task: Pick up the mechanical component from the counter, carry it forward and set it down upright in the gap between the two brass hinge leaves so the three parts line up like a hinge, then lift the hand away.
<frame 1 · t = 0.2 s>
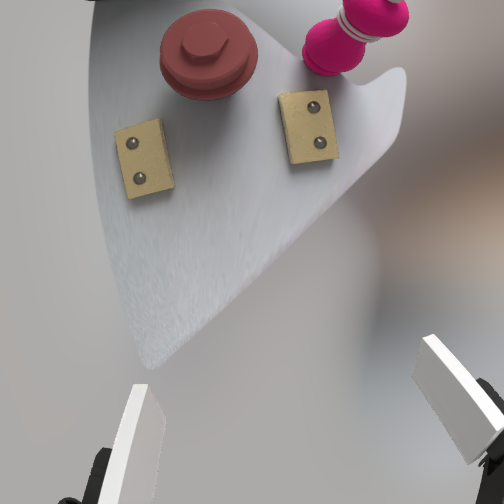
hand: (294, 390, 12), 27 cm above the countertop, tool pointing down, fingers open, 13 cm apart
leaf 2: (306, 127, 33), on the countertop
pepper mill: (323, 56, 30), on the countertop
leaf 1: (146, 158, 33), on the countertop
mechanical component: (213, 75, 30), on the countertop
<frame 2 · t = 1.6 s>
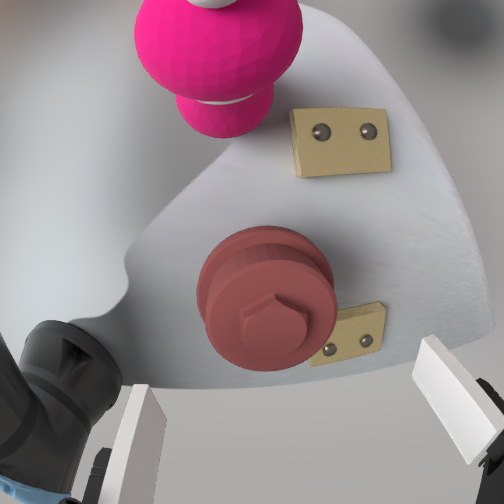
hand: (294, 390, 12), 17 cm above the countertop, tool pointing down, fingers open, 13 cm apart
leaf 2: (338, 141, 24), on the countertop
pepper mill: (225, 103, 23), on the countertop
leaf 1: (343, 330, 31), on the countertop
mechanical component: (257, 258, 28), on the countertop
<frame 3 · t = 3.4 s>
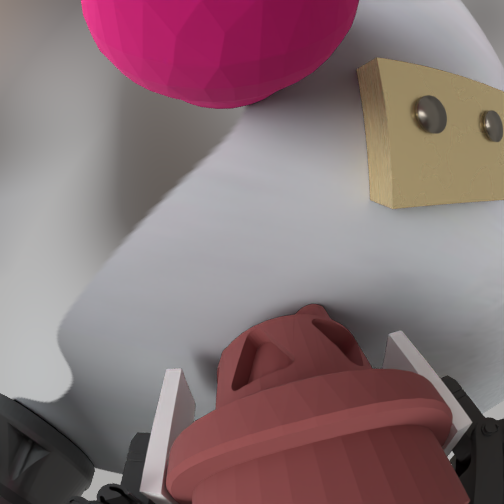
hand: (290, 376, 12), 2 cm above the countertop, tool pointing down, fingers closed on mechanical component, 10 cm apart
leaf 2: (439, 136, 11), on the countertop
pepper mill: (224, 44, 9), on the countertop
mechanical component: (284, 351, 14), on the countertop, touching gripper
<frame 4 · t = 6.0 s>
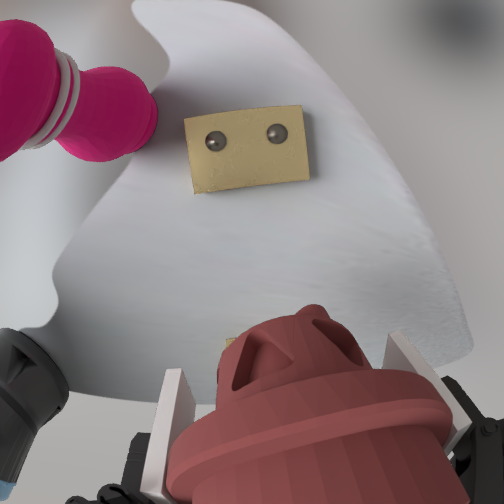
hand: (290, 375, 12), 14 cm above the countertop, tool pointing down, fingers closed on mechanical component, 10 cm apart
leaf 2: (246, 148, 22), on the countertop
pepper mill: (125, 120, 21), on the countertop
mechanical component: (284, 351, 14), point 12 cm above the countertop, touching gripper
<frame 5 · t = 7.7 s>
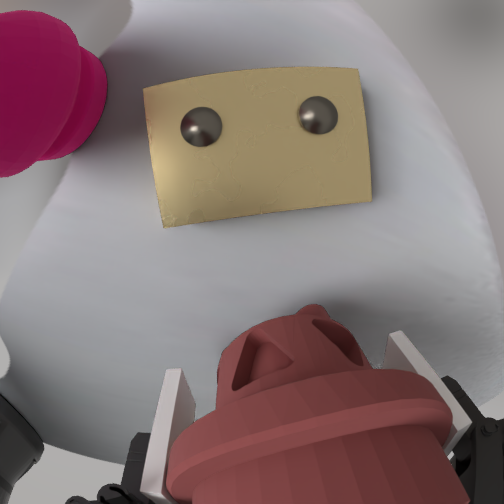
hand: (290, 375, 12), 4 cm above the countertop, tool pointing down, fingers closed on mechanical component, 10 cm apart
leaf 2: (258, 141, 12), on the countertop
pepper mill: (61, 103, 11), on the countertop
mechanical component: (284, 351, 14), point 2 cm above the countertop, touching gripper
when the fingers open (3 cm above the countertop, at t = 8.7 s): mechanical component drops 1 cm, on the countertop.
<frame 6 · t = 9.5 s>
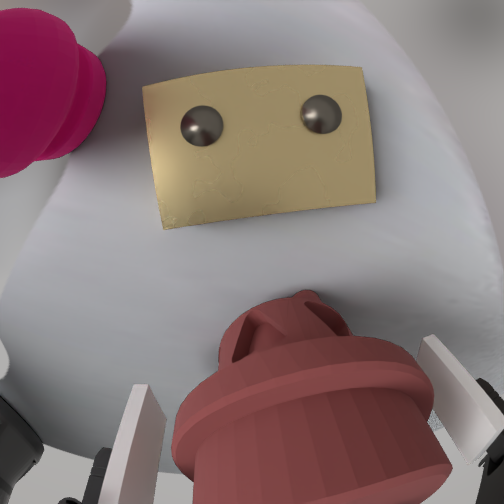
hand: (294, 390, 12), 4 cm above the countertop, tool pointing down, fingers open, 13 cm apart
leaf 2: (260, 141, 12), on the countertop
pepper mill: (60, 102, 11), on the countertop
mechanical component: (280, 334, 16), on the countertop
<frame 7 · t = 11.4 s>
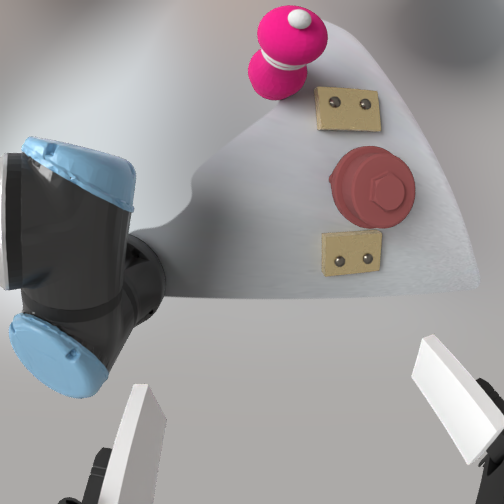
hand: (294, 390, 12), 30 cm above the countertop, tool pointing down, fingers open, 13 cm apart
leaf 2: (345, 110, 35), on the countertop
pepper mill: (273, 80, 33), on the countertop
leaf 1: (349, 250, 42), on the countertop
mechanical component: (349, 181, 38), on the countertop
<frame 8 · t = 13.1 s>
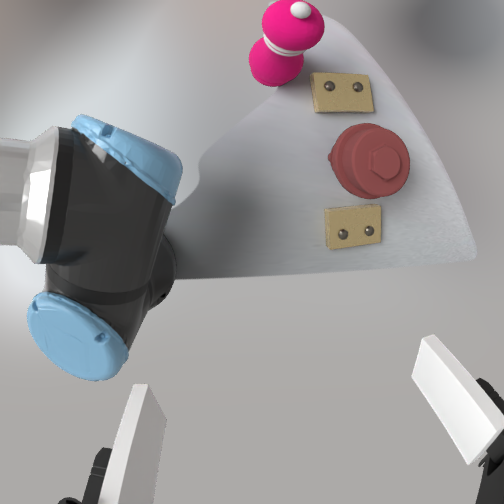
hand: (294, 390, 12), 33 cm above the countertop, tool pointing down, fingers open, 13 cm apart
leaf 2: (340, 93, 36), on the countertop
pepper mill: (271, 68, 35), on the countertop
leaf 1: (351, 224, 44), on the countertop
mechanical component: (347, 159, 40), on the countertop
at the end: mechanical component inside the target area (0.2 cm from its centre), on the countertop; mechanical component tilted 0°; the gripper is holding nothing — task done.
